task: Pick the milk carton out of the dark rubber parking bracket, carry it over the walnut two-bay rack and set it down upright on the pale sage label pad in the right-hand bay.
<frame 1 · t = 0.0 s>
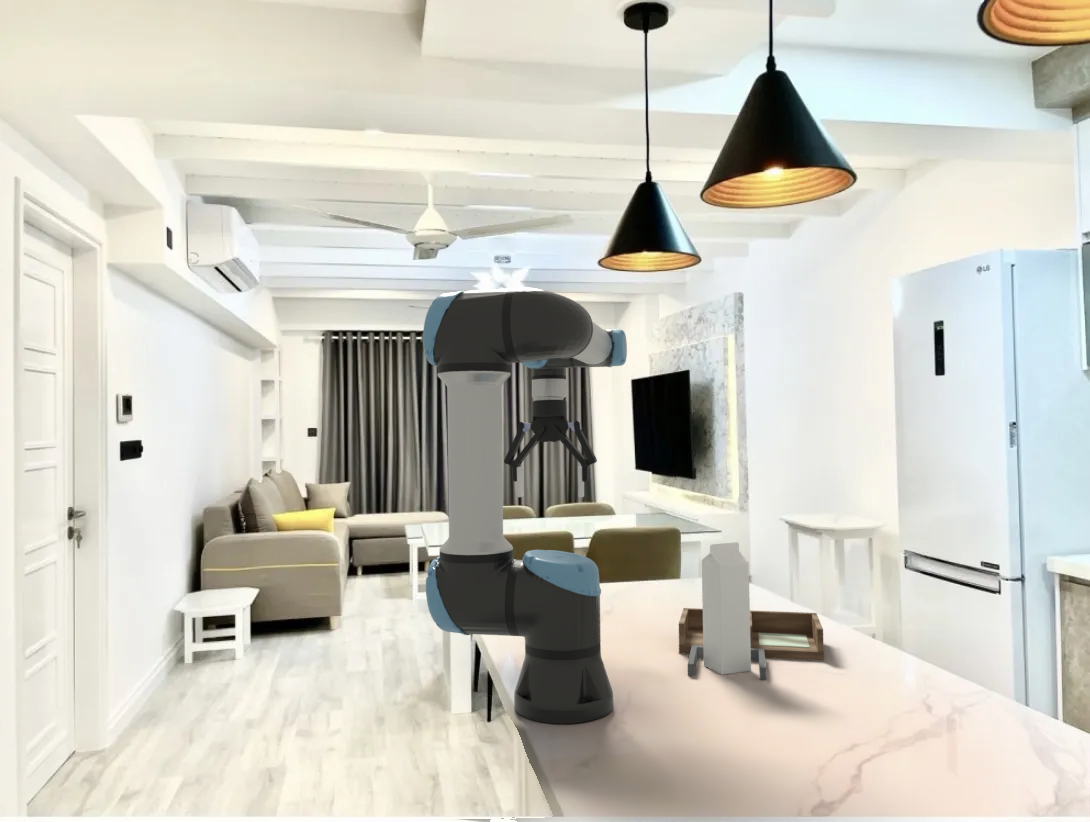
hand: (550, 497, 174), 28 cm above the table, fingers open, 13 cm apart
rack: (749, 646, 155), on the table
parking bracket: (727, 668, 141), on the table
milk: (727, 669, 141), on the table
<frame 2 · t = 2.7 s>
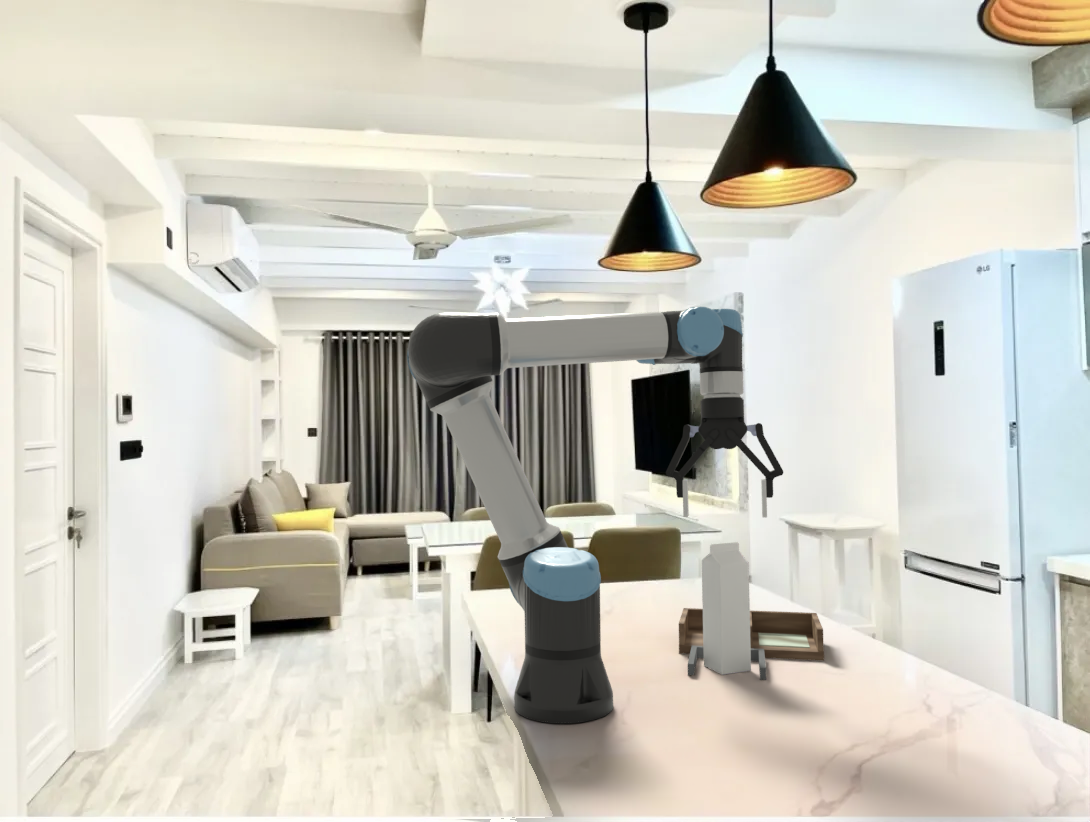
hand: (724, 516, 142), 27 cm above the table, fingers open, 13 cm apart
nothing on the table moved.
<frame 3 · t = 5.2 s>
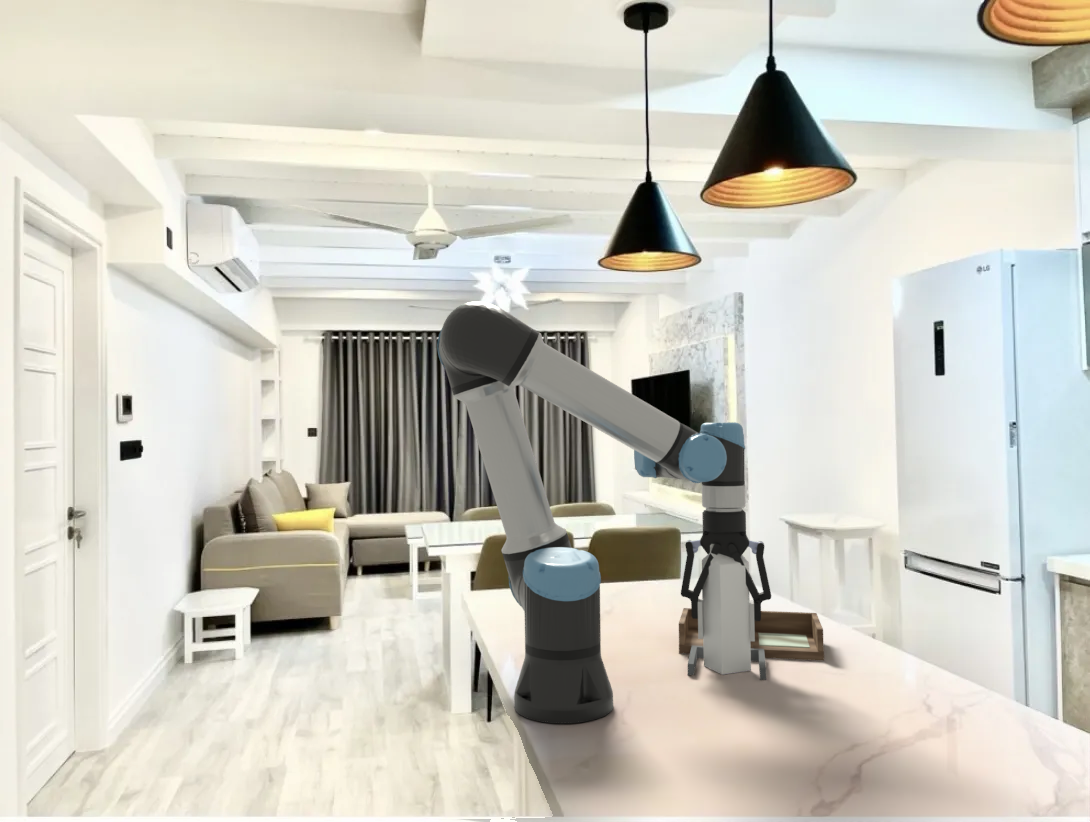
hand: (726, 638, 141), 5 cm above the table, fingers closed on milk, 8 cm apart
milk: (727, 669, 141), on the table, touching gripper
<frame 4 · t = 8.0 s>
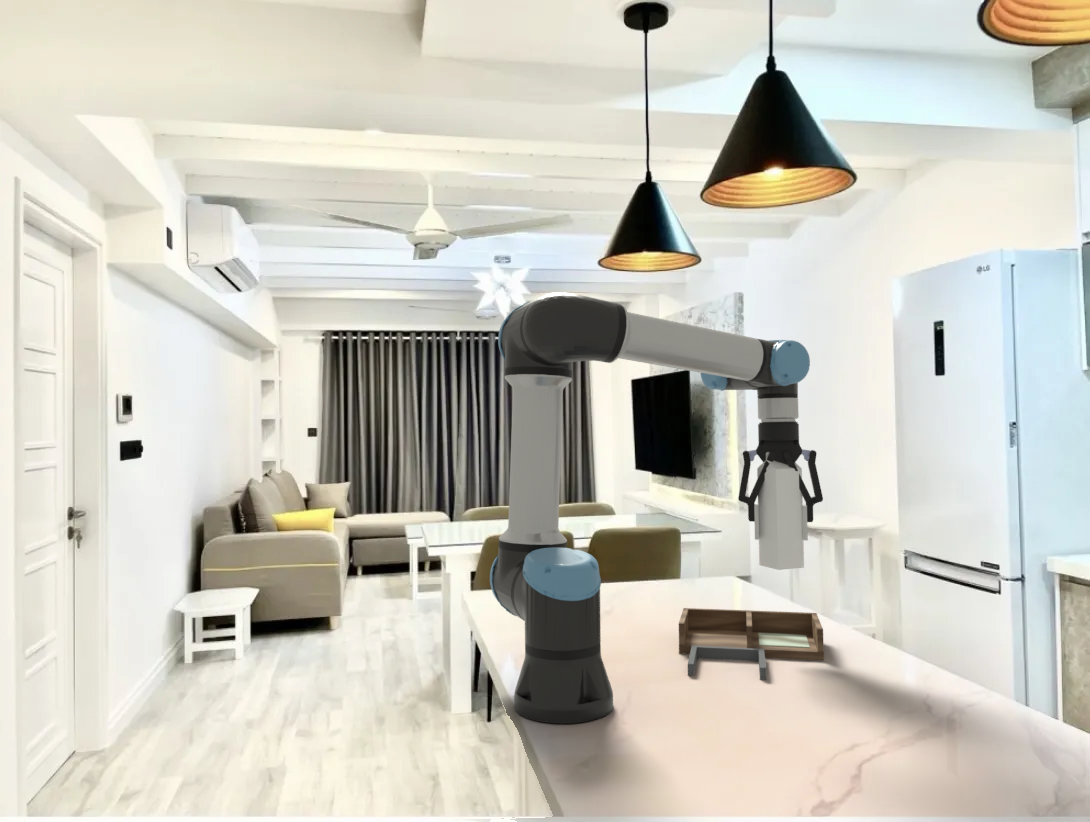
hand: (780, 538, 154), 21 cm above the table, fingers closed on milk, 8 cm apart
milk: (781, 567, 154), point 15 cm above the table, touching gripper
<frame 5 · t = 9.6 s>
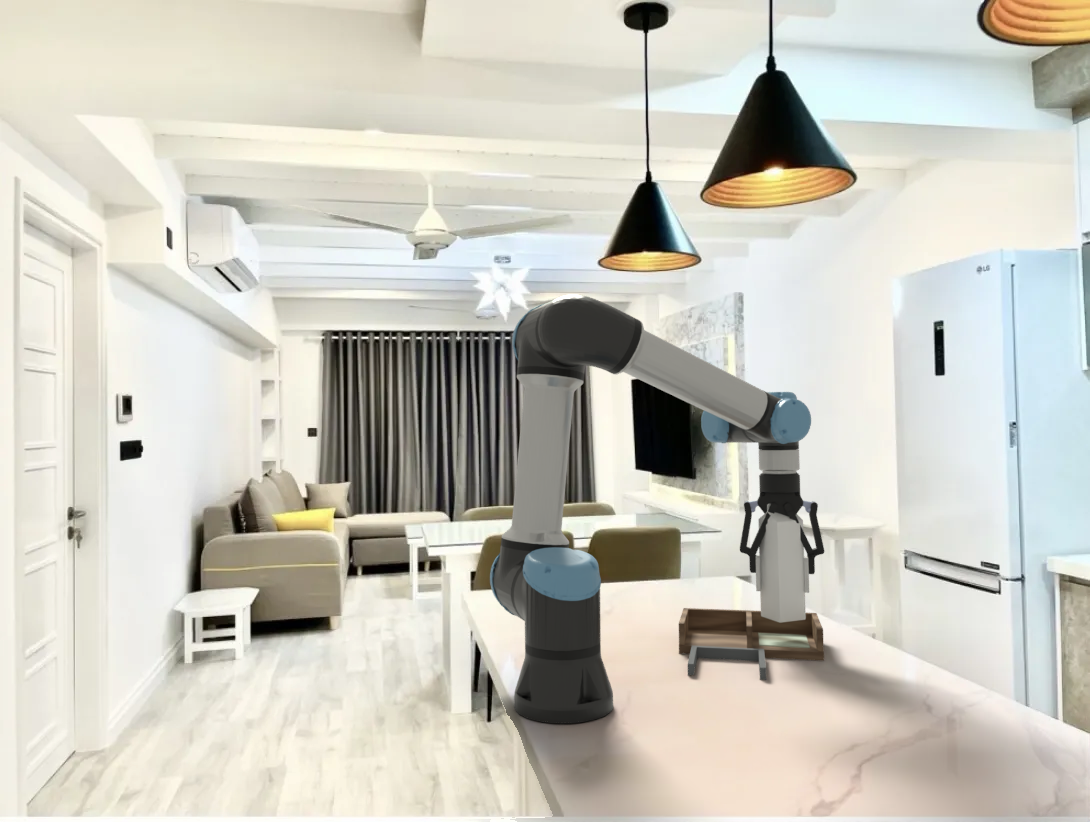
hand: (782, 590, 154), 11 cm above the table, fingers closed on milk, 8 cm apart
milk: (783, 619, 154), point 6 cm above the table, touching gripper
when the fingers open (8 cm above the table, at t = 11.1 s): milk drops 1 cm, resting on rack.
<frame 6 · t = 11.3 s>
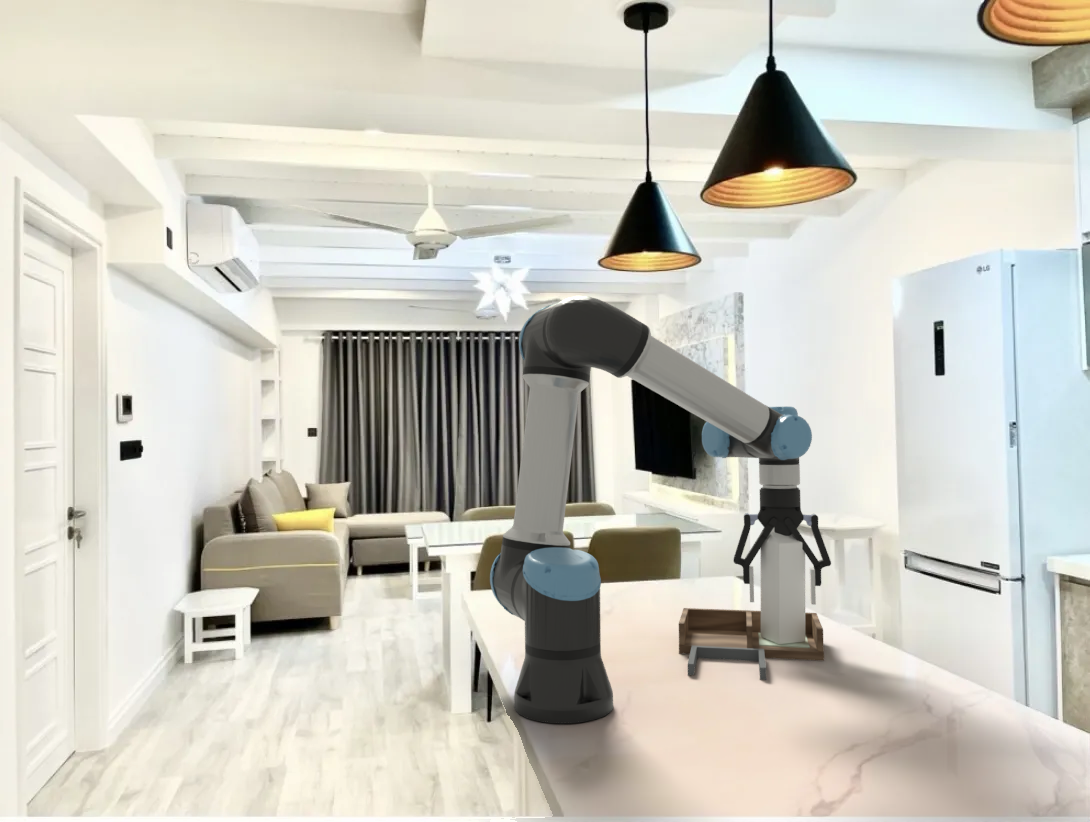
hand: (782, 602, 154), 9 cm above the table, fingers open, 10 cm apart
milk: (782, 640, 153), point 2 cm above the table, touching rack
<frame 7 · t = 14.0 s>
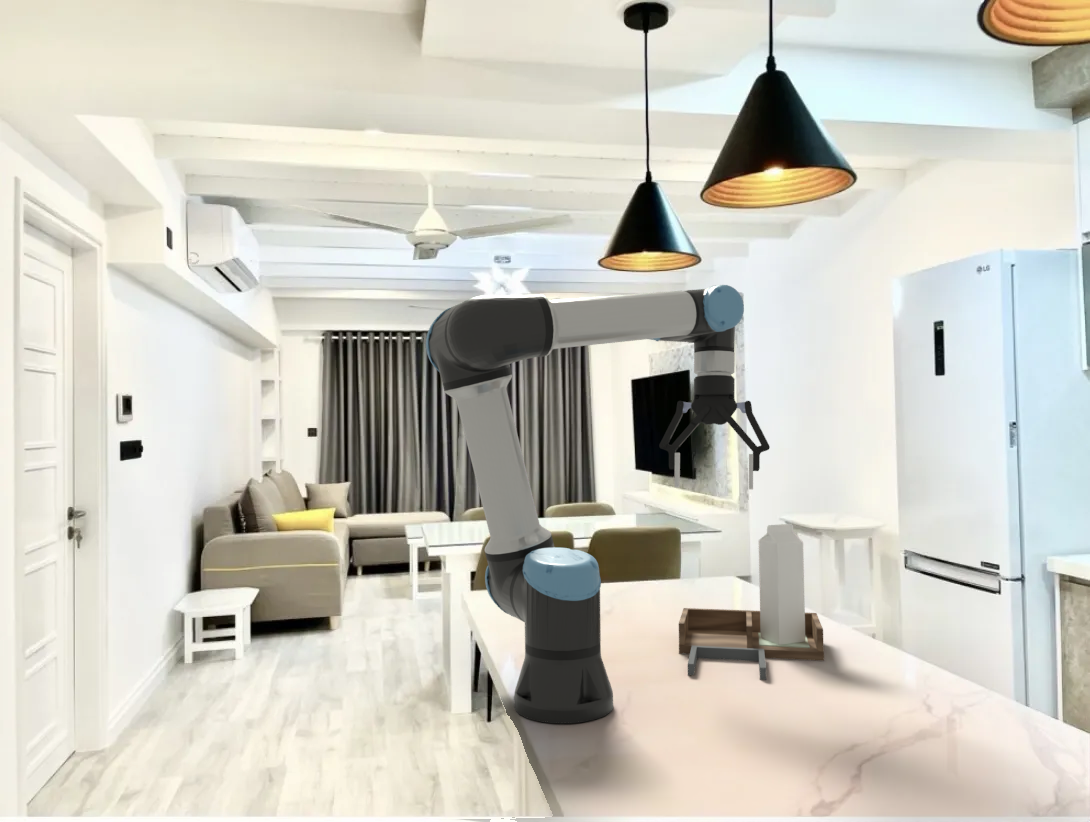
hand: (713, 488, 151), 31 cm above the table, fingers open, 13 cm apart
nothing on the table moved.
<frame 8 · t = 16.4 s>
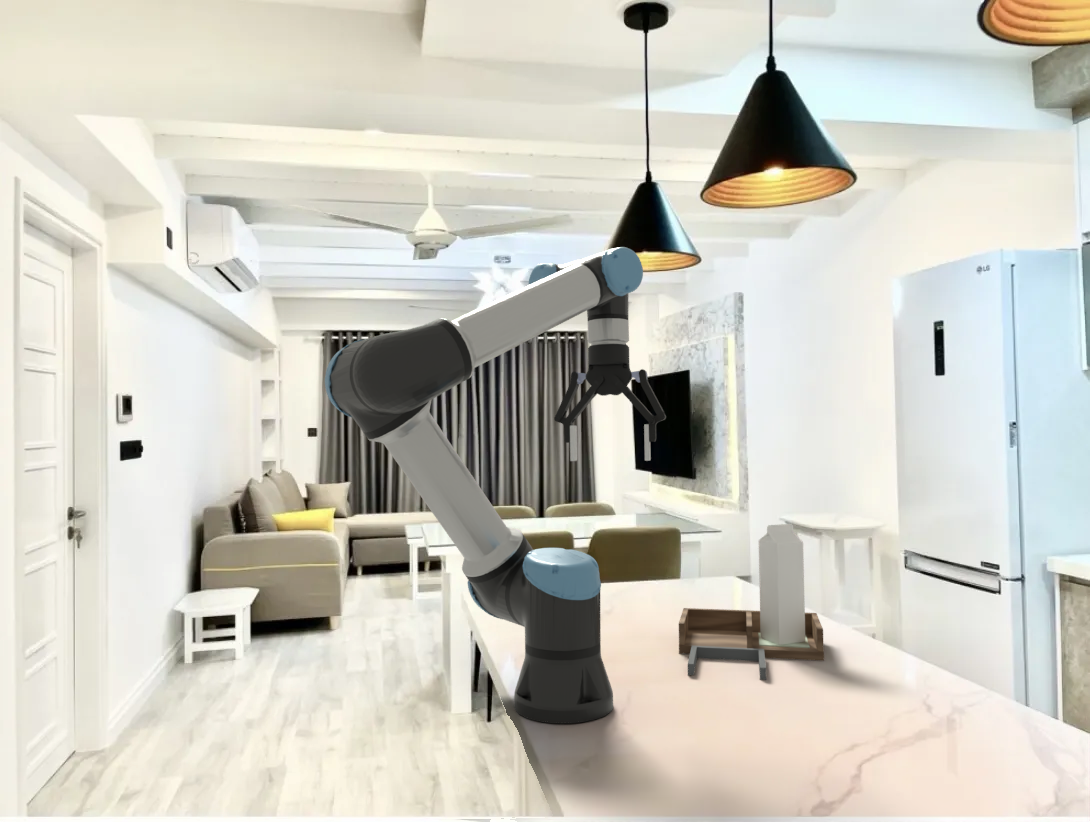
hand: (610, 460, 146), 37 cm above the table, fingers open, 13 cm apart
nothing on the table moved.
at the end: milk inside the target area on the rack (0.1 cm from its centre), point 1.5 cm above the rack's base; milk tilted 0°; the gripper is holding nothing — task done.
